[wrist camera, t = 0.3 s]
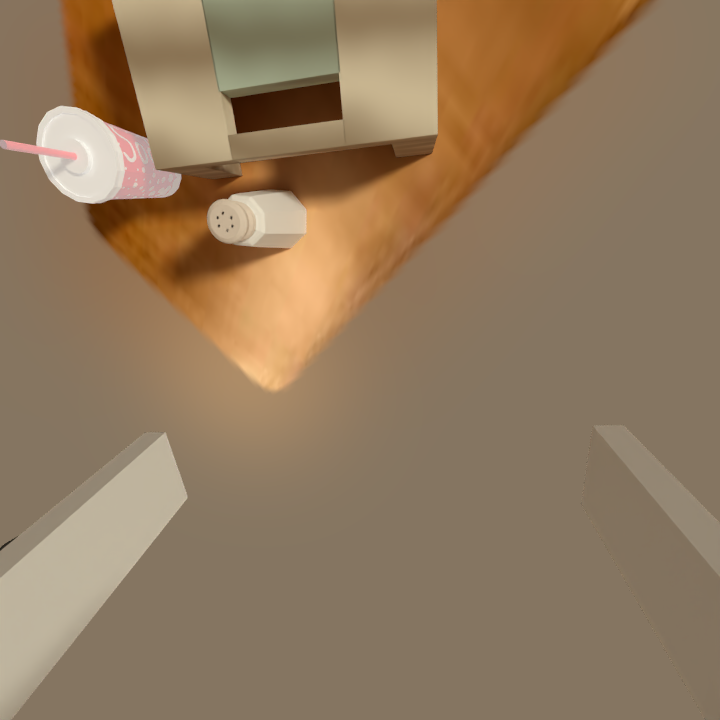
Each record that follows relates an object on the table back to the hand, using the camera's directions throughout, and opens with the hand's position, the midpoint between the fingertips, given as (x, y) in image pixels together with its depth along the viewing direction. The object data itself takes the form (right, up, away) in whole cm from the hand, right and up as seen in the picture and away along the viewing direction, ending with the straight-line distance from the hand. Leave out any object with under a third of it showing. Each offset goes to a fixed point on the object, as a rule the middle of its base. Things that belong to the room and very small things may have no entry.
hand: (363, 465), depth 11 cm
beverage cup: (-19, +21, +23) cm, 36 cm away
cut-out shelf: (-5, +27, +18) cm, 33 cm away
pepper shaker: (-8, +17, +23) cm, 29 cm away
